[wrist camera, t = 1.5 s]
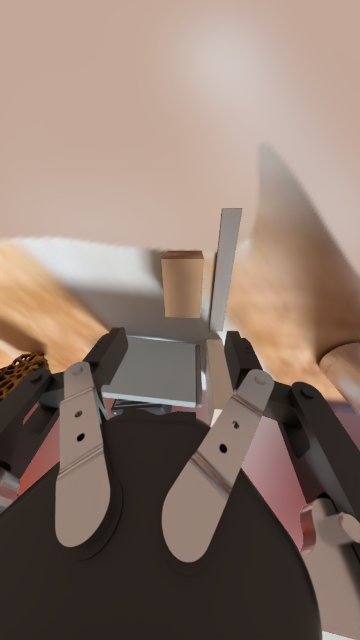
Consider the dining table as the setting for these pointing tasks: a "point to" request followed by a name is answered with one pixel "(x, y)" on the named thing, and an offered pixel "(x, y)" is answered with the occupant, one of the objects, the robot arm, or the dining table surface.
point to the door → (158, 373)
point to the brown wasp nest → (20, 371)
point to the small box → (139, 407)
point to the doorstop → (182, 283)
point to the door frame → (221, 316)
